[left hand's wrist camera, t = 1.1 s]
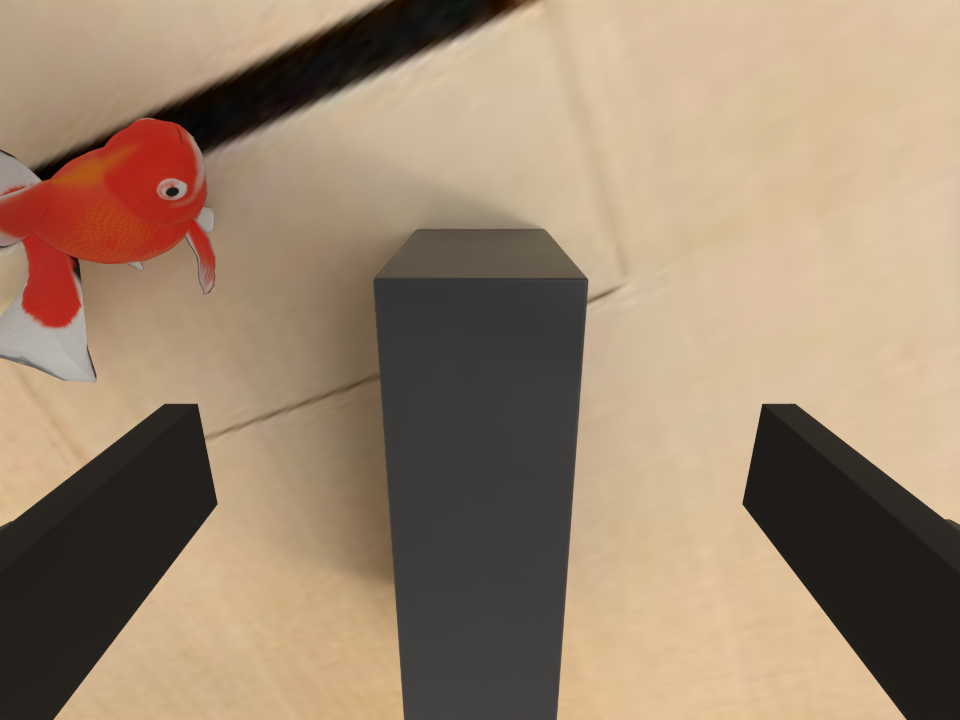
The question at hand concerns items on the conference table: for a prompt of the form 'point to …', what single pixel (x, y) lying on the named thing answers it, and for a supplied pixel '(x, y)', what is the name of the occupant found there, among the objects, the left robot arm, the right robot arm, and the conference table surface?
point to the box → (480, 465)
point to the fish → (96, 233)
